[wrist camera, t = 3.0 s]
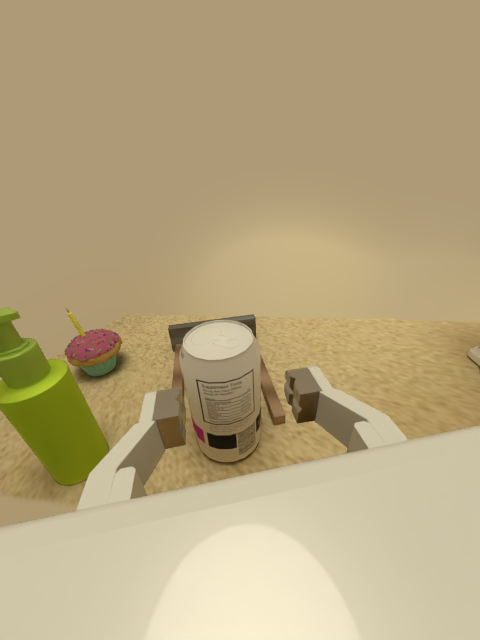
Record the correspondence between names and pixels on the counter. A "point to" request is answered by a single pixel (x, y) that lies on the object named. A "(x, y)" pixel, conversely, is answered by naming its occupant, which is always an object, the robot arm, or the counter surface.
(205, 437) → the supplement can
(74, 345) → the cupcake
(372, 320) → the counter surface
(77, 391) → the soap dispenser
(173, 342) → the u-shaped wooden rack
